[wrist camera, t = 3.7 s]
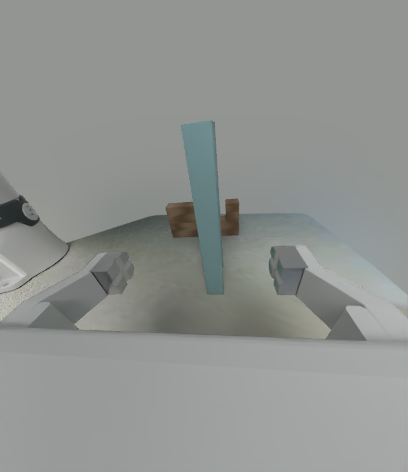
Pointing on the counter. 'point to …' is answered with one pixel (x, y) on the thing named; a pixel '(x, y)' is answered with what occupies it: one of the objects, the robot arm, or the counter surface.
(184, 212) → the notched walnut block
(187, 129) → the teal plate
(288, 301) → the counter surface
